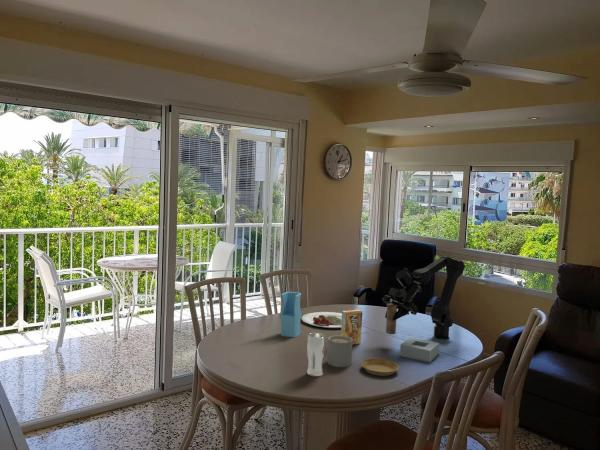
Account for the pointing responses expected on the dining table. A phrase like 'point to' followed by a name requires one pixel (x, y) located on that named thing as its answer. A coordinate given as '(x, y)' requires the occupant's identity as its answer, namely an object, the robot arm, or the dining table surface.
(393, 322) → the walnut peg
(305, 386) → the dining table surface
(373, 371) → the plant saucer
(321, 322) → the plated food
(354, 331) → the candy box
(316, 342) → the beer glass
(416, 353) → the socket block
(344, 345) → the coffee mug
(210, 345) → the dining table surface
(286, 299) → the vase
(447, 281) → the robot arm
